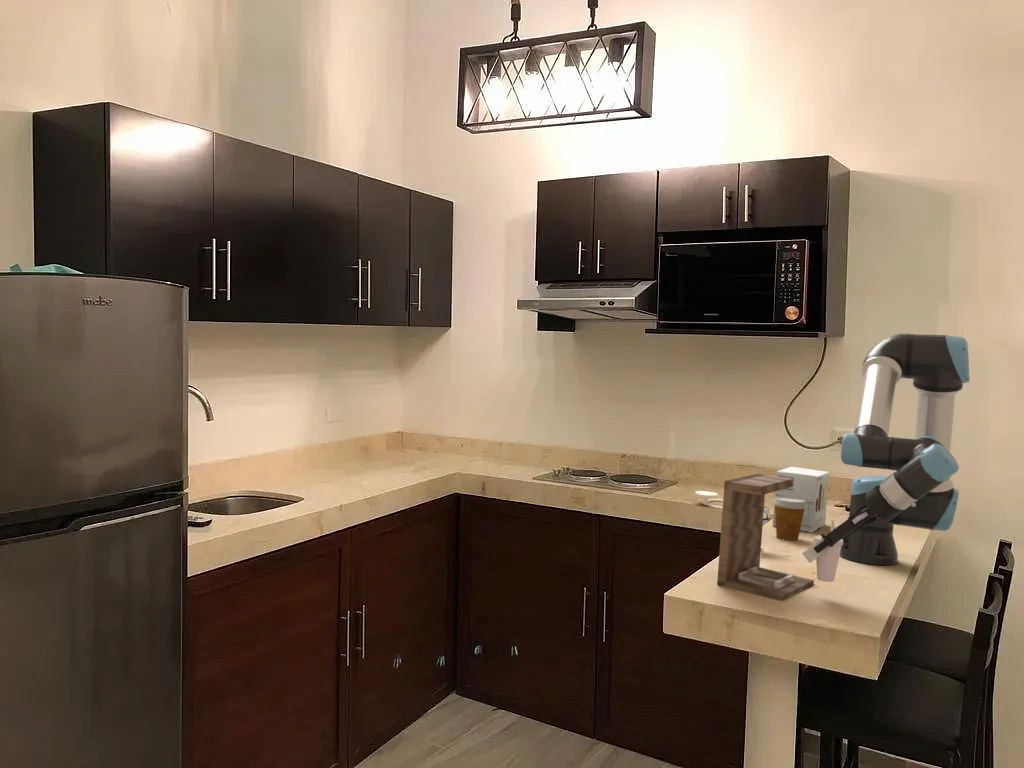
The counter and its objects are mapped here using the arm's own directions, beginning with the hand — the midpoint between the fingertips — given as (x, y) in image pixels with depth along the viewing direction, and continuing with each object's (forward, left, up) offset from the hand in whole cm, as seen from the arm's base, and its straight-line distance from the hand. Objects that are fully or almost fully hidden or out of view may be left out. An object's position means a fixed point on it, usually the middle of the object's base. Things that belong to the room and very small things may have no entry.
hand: (811, 555), depth 203 cm
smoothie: (0, +4, -5) cm, 6 cm away
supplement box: (-78, -32, -10) cm, 85 cm away
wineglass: (-33, -27, -9) cm, 44 cm away
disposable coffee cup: (-55, -27, -9) cm, 62 cm away
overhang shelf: (0, -10, -9) cm, 14 cm away
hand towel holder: (-89, -64, -10) cm, 110 cm away
